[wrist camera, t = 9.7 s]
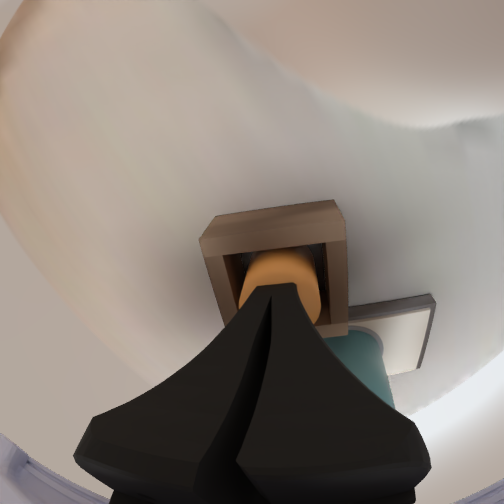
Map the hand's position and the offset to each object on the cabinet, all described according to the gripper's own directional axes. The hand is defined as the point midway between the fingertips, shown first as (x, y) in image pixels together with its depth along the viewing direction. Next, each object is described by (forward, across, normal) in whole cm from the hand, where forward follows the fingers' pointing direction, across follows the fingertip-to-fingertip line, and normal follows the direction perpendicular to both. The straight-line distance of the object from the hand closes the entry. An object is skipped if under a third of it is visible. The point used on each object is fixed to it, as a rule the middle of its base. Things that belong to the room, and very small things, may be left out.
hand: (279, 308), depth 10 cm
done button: (+3, 0, 0) cm, 3 cm away
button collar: (+3, 0, 0) cm, 3 cm away
